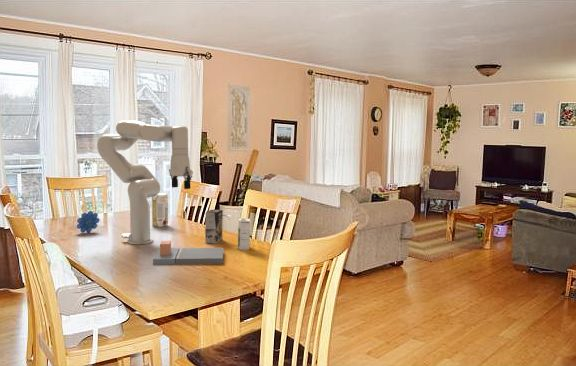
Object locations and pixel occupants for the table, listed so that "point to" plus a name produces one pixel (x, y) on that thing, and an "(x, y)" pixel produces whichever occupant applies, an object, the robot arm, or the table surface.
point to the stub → (165, 254)
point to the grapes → (88, 222)
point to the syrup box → (244, 234)
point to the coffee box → (213, 226)
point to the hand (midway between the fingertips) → (181, 188)
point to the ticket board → (199, 256)
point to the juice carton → (160, 210)
